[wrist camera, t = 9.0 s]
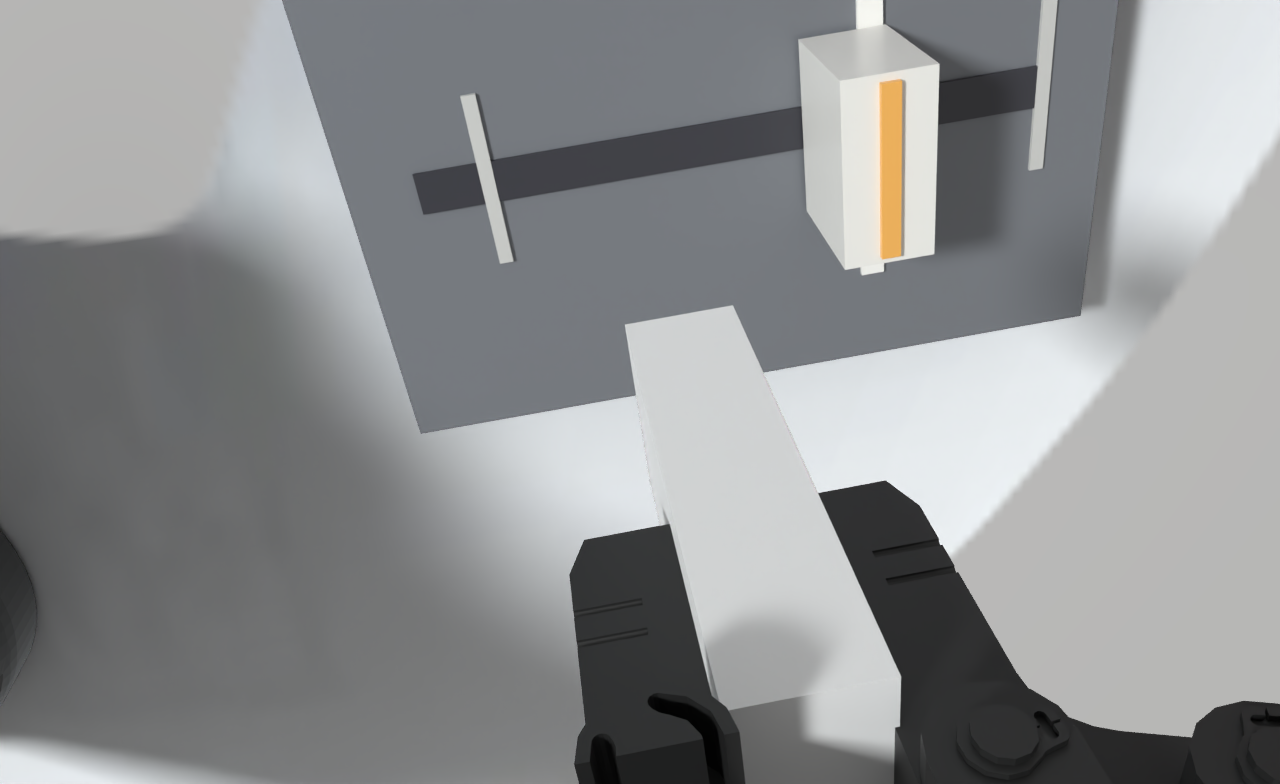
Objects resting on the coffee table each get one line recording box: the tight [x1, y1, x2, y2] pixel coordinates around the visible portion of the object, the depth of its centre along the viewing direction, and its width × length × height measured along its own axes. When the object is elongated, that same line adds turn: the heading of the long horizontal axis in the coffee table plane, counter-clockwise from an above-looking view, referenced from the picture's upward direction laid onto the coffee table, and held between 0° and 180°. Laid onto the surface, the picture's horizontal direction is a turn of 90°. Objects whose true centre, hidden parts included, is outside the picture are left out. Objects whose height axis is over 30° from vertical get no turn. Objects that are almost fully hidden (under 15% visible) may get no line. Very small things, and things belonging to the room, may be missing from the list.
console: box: [282, 0, 1118, 434], centre depth 29 cm, size 22×16×2 cm
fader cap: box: [798, 24, 939, 270], centre depth 27 cm, size 2×5×4 cm, turn 8°
